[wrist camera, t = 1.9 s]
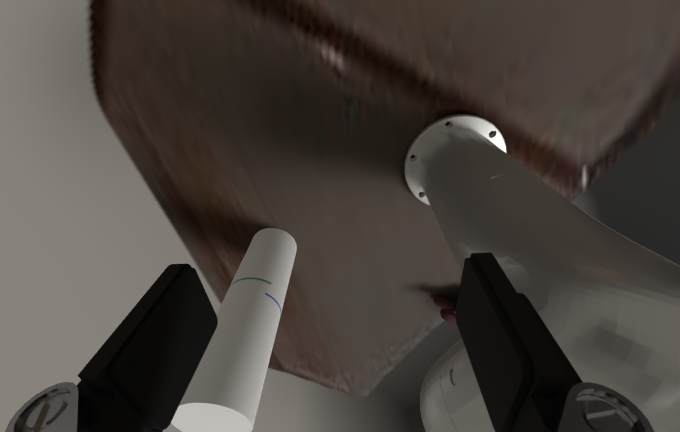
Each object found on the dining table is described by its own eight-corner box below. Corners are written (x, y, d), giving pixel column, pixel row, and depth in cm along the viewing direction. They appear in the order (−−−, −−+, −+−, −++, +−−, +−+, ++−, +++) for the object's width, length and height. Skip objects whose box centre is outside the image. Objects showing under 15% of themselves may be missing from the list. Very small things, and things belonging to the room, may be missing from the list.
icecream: (543, 325, 45) (452, 298, 45) (521, 362, 47) (434, 337, 47) (519, 300, 52) (439, 276, 51) (500, 333, 54) (424, 311, 53)
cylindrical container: (275, 269, 49) (219, 447, 28) (242, 243, 46) (153, 419, 25) (305, 248, 47) (269, 427, 25) (273, 219, 44) (201, 393, 23)
